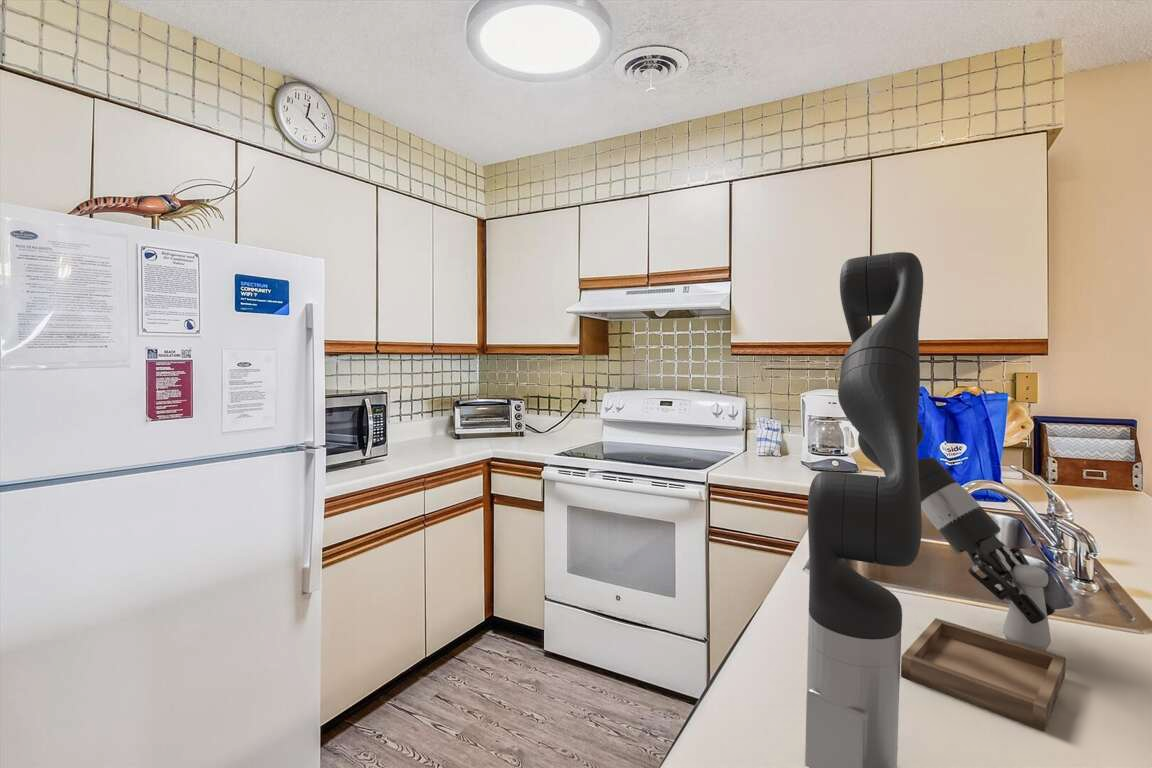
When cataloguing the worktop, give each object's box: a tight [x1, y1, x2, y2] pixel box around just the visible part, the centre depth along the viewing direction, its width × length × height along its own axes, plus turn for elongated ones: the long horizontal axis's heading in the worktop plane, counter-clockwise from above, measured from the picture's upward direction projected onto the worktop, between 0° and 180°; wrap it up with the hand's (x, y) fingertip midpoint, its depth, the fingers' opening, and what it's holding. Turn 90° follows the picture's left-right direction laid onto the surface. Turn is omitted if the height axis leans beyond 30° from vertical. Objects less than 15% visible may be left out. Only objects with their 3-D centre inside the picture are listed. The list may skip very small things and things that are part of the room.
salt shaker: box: [1002, 564, 1052, 652], centre depth 87 cm, size 6×6×13 cm
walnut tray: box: [900, 617, 1066, 732], centre depth 81 cm, size 16×16×3 cm
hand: (1044, 617), depth 86 cm, fingers closed on salt shaker, 3 cm apart
